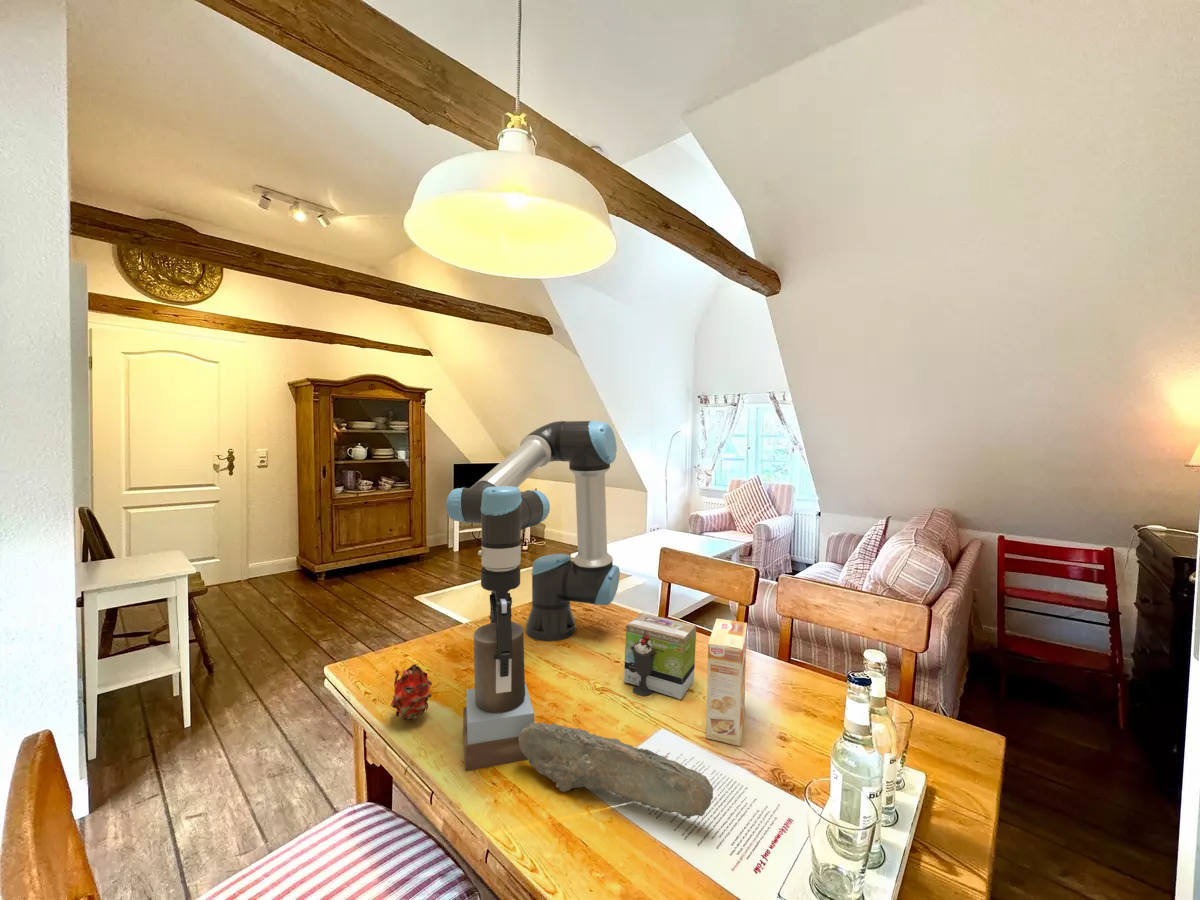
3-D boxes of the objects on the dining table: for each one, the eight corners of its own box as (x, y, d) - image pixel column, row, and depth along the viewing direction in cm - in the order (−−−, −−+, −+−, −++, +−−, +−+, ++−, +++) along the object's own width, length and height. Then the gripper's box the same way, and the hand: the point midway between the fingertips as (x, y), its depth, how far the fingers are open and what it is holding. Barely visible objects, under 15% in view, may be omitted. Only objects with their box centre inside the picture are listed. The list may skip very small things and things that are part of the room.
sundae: (638, 700, 111) (641, 635, 111) (624, 687, 117) (626, 625, 117) (662, 694, 114) (665, 631, 114) (647, 681, 120) (649, 621, 120)
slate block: (466, 708, 99) (466, 689, 99) (525, 700, 103) (525, 681, 103) (467, 744, 88) (467, 723, 88) (533, 734, 91) (534, 713, 91)
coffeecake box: (741, 747, 95) (743, 649, 95) (704, 738, 98) (706, 643, 97) (746, 707, 109) (748, 621, 109) (713, 701, 112) (715, 617, 111)
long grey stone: (715, 816, 78) (716, 755, 78) (709, 842, 73) (711, 777, 73) (524, 760, 91) (524, 708, 90) (509, 779, 86) (509, 723, 86)
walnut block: (463, 731, 100) (463, 707, 100) (526, 721, 104) (526, 697, 104) (465, 773, 87) (465, 746, 87) (537, 760, 91) (537, 734, 91)
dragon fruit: (379, 727, 100) (379, 670, 100) (405, 705, 108) (405, 652, 108) (415, 734, 98) (415, 676, 97) (439, 711, 106) (439, 657, 106)
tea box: (622, 684, 118) (624, 623, 118) (639, 667, 127) (641, 611, 127) (682, 701, 111) (684, 637, 111) (695, 682, 120) (697, 623, 120)
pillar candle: (533, 702, 94) (532, 627, 93) (485, 720, 89) (483, 640, 88) (512, 680, 102) (511, 610, 101) (467, 695, 97) (465, 621, 96)
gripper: (477, 552, 105) (477, 649, 106) (485, 587, 82) (484, 711, 82) (512, 550, 108) (512, 645, 108) (529, 583, 84) (528, 705, 84)
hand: (500, 674), depth 95 cm, fingers open, 13 cm apart
